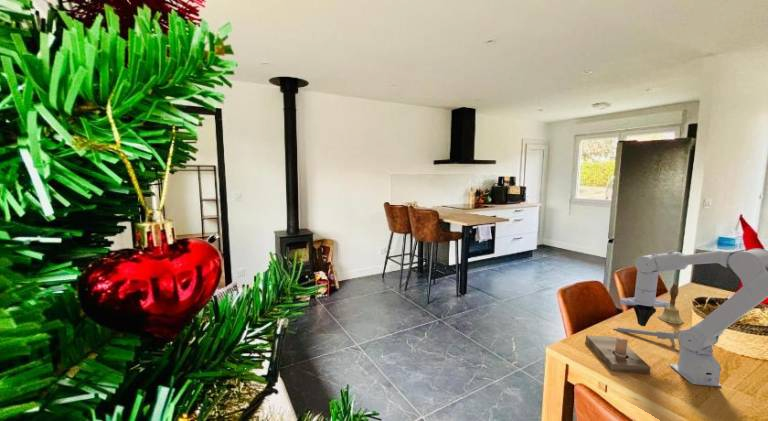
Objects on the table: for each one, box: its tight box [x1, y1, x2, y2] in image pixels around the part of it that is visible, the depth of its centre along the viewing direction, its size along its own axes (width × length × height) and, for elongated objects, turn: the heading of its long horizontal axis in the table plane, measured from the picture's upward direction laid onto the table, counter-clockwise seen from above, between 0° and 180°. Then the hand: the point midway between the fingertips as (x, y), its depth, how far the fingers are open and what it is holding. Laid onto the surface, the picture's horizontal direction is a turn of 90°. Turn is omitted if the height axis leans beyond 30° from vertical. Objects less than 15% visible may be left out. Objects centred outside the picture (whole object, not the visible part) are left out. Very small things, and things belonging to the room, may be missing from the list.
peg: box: [615, 336, 628, 358], centre depth 107 cm, size 3×3×8 cm
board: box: [585, 334, 651, 375], centre depth 110 cm, size 18×11×2 cm, turn 171°
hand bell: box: [657, 283, 684, 325], centre depth 136 cm, size 8×8×16 cm
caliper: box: [613, 326, 681, 347], centre depth 122 cm, size 20×1×6 cm, turn 49°
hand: (641, 324), depth 114 cm, fingers closed
